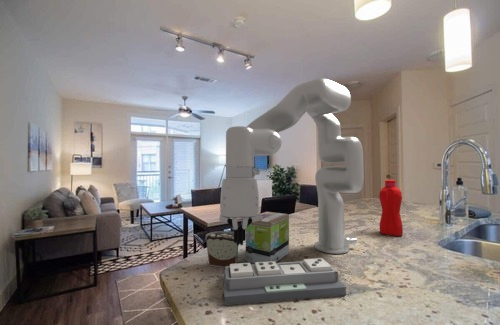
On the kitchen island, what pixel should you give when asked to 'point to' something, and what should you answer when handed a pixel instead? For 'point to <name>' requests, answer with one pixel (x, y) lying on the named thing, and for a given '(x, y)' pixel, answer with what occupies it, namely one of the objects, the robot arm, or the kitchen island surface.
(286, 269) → the key one dot
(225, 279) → the keypad
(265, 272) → the key four dots
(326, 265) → the key three dots
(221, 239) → the food container
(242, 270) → the key two dots
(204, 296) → the kitchen island surface
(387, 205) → the red plastic bottle
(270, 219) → the tea box
